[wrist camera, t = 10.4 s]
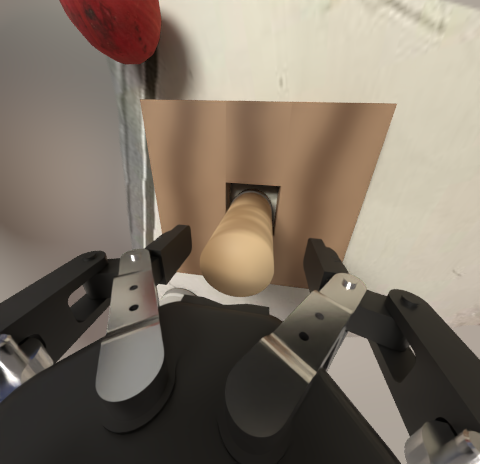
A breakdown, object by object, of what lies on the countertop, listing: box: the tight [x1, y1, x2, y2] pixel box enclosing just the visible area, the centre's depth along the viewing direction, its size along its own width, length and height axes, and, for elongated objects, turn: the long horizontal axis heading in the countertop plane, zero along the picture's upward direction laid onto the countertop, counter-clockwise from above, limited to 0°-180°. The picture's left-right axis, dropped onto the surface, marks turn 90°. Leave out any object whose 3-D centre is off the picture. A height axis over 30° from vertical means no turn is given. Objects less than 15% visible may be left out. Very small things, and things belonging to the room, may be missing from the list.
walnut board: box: [140, 99, 397, 289], centre depth 19 cm, size 20×18×2 cm
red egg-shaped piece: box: [60, 0, 161, 64], centre depth 12 cm, size 6×6×8 cm
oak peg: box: [200, 189, 274, 297], centre depth 15 cm, size 4×4×12 cm
